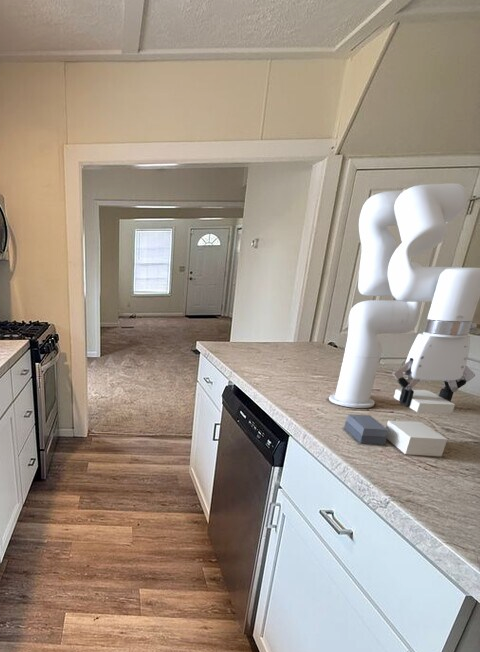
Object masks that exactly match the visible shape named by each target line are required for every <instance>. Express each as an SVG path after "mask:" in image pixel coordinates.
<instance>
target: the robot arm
mask: <svg viewBox="0 0 480 652" xmlns="http://www.w3.org/2000/svg"><path fill="white" fill-rule="evenodd" d="M467 204H468V192H467V189H466V187H465V186H464V185H463V184H461V183H456V182H454V183H453V182H452V183H451V182H449V183H448V182H447V183H428V184H426V183H425V184H418V185H413V186H411V187H408V188H407V189H404V190H391V191H389V190H388V191H382V192H379V193H376V194H373V195H372V196H370V197H368V198H367V200H366V201H365V202H364V203H363V205H362V208H361V211H360V213H359V219H358V235H359V239H360V247H361V251H360V253H361V254H360V262H359V271H358V281H357V289H358V292H359V294H361V295H362V296H366V297H393V298H394V299H395V300H392V299H391V300H388V299H370V300H369V299H367V300H363V301H360V302H357V303H356V304H354V305H353V306H352V307H351V308H350V311H349V313H348V321H347V323H348V324H347V325H348V326H347V338H346V339H347V340H346V343H345V348H344V352H343V353H344V354H343V359H342V363H341V368H340V372H339V375H338V376H339V377H338V381H337V386H336V389H335V393H333V394H331V395H329V396H328V400H329V402H331V403H332V404H335V405H337V406H342V407H346V408H353V409H368V408H372V407H374V406H375V400H373V399H372V398H371V395H372V391H373V387H374V383H375V379H376V376H377V372H378V368H379V363H380V360H381V355H382V351H383V349H382V348H383V347H382V344H381V342H380V339H379V338H378V336H377V335H379V334H380V335H381V334H392V335H394V334H401V335H402V334H406V333H410V332H411V331H413V330H414V329H415V328H416V326H417V325H418V322H419V319H420V316H421V310H422V309H421V307H422V303H431V304H430V309H429V311H428V314H427V318H426V322H425V324H424V325H425V326H424V329H423V332H422V333H418V334H417V336H416V337H415V340H414V341H413V343H412V345H411V347H410V350H409V352H408V354H407V358H406V360H405V362H404V363H403V364H401V365H400V366H398V367H397V368H395V369H393V370H392V371H391V374H392V375H393V377H394V379H395V380H396V382H397V383H398V384H399V386H400V388H401V389H402V391H401V395H400V399H399V404H400V405H401V406H403V407H405V408H409V406H410V403H411V400H412V397H413V394H414V391H413V390H414V387H415V386H416V385H417V384H418V383H419V382H420V381H435V382H436V381H441V382H442V384H443V388H441V389H440V391H439V393H438V396H440V397H442V398H444V399H445V400H447V401H449V402H451V403H452V398H453V396H454V393H456V392H458V390H459V389H460V388H462V387H463V386H465V385H466V384H467V383H468V382H469V381H471V380H472V379H473V378H475V377H476V374H475V372H474V371H472V370H471V368H469V367H468V366H467V363H468V358H469V353H470V352H469V351H470V345H471V336H470V335H468V334H470V331H473V330H474V331H475V330H476V329H477V326H478V324H477V323H474V321H473V319H474V316H475V313H476V309H477V307H478V303H479V301H480V267H461V266H422V264H420V262H416V261H411V259H412V258H414V257H416V256H419V255H422V254H424V253H427V252H428V251H430V250H433V249H434V248H436V247H437V246H439V245H440V244H441V243H442V242H443V241H444V239H445V238H446V237H447V235H448V226H447V223H449V222H451V221H454V220H455V219H458V217H460V215H461V214H463V212H464V211H465V208H466V206H467ZM388 226H391V227H393V226H397V228H398V232H399V236H400V241H401V243H400V244H399V245H398V246H397V240H396V239H395V237H394V235H393V234H392V232H391V231H390V230H389V229H388V228H387V227H388ZM403 374H404V376H405V375H406V376H407V377H406V378H405V377H404V376H403Z"/></svg>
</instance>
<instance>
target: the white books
mask: <svg viewBox="0 0 480 652" xmlns="http://www.w3.org/2000/svg"><path fill="white" fill-rule="evenodd" d="M385 428H387V429H388V432H387V436H386V437H387V438H386V440H387V441H388V442H390V443H391V444H392V445H394V446H395V447H396V449H398V450H399V451H400V452H402V453H403V454H404V455H410V456H412V455H413V456H425V457H426V456H427V457H443V453H444V450H445V448H446V444H447V441H448V438H446V437H445V436H443V435H442V434H440V433H438V431H436V430H434V429H432V428H431V427H430V426H427V424H425V423H423V422H421V421H406V420H405V421H404V420H387V423H386V426H385Z"/></svg>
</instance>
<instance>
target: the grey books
mask: <svg viewBox="0 0 480 652" xmlns="http://www.w3.org/2000/svg"><path fill="white" fill-rule="evenodd" d="M343 428H344V429H345V431H347V432H348V433H349V434H350V435H351V436H352V437H353V438H354V439H355V440H356V441H357V442H358V443H359V444H365V445H380V446H384V445H385V444H386V441H387V439H386V438H387V437H386V436H387V432H388V429H387V428H386V426H384V425H383V424H382V423H381V422H379V420H377V419H375V418H374V416H372V415H369V414H368V415H367V414H347V418H346V420H345V422H344V427H343Z"/></svg>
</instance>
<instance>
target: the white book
mask: <svg viewBox="0 0 480 652" xmlns="http://www.w3.org/2000/svg"><path fill="white" fill-rule="evenodd" d="M412 390H413V391H414V394H413V397H412V400H411V403H410V406H409V407H408V408H409V409H411V410H413V411H414V412H416V413H422V414H424V413H426V414H446V415H447V414H449V415H452V414H453V412H454V409H455V407H456V404H455V403H453V402H452V401H451V402H449V401H447V400H445V399H444V398H442V397H440V396H439V394H436V393H435V392H432V391H430V390H429V389H412ZM401 391H402V388H396V389H395V392H394V395H393V398H394V399H395V400H397V401H399V399H400V395H401ZM399 402H400V401H399Z"/></svg>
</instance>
